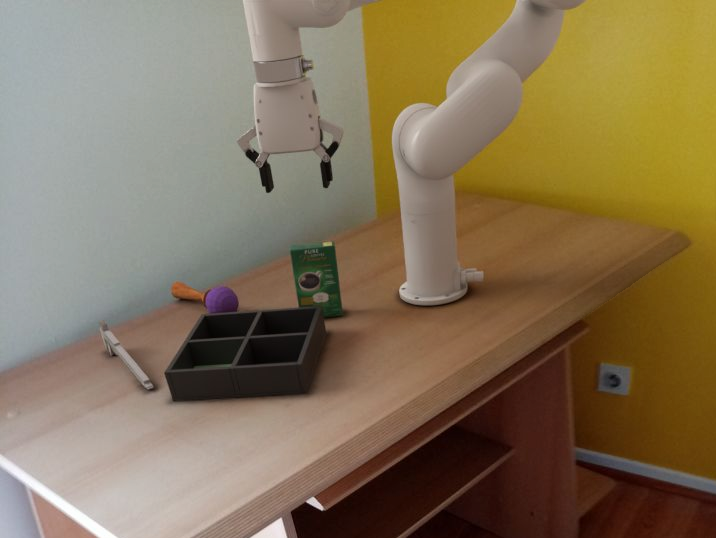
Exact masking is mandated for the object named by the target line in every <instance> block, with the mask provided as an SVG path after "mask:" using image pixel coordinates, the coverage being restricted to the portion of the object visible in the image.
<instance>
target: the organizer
mask: <svg viewBox="0 0 716 538" xmlns="http://www.w3.org/2000/svg"><path fill="white" fill-rule="evenodd" d="M326 336H327V328H326V322H325V318H324V316H323V310H322V306H311V307H299V306H298V307H297V306H296V307H285V308H272V309H271V308H270V309H258V310H256V309H255V310H242V311H237V312H227V313H213V314H210V313H202V314H201V315H200V316H199V317H198V319H197V321H196V323H195V324H194V325H193V327H192V328H191V330H190V332H189V333H188V335H187V336H186V337H185V339H184V341H183V342H182V344H181V345H180V347H179V349H178V350H177V352H176V353H175V355H174V357H173V358H172V359H171V361H170V363H169V364H168V366H167V367H166V368H165V371H164V373H163V374H164V378H165V380H166V383H167V386H168V390H169V393H170V395H171V400H172V402H180V401H198V400H199V401H200V400H201V401H202V400H217V399H233V398H235V399H237V398H252V397H253V398H254V397H273V396H289V395H291V396H292V395H305V394H308V391H309V389H310V385H311V383H312V379H313V377H314V376H313V375H314V372H315V370H316V366H317V364H318V360H319V357H320V354H321V350H322V348H323V344H324V341H325V337H326Z"/></svg>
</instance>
